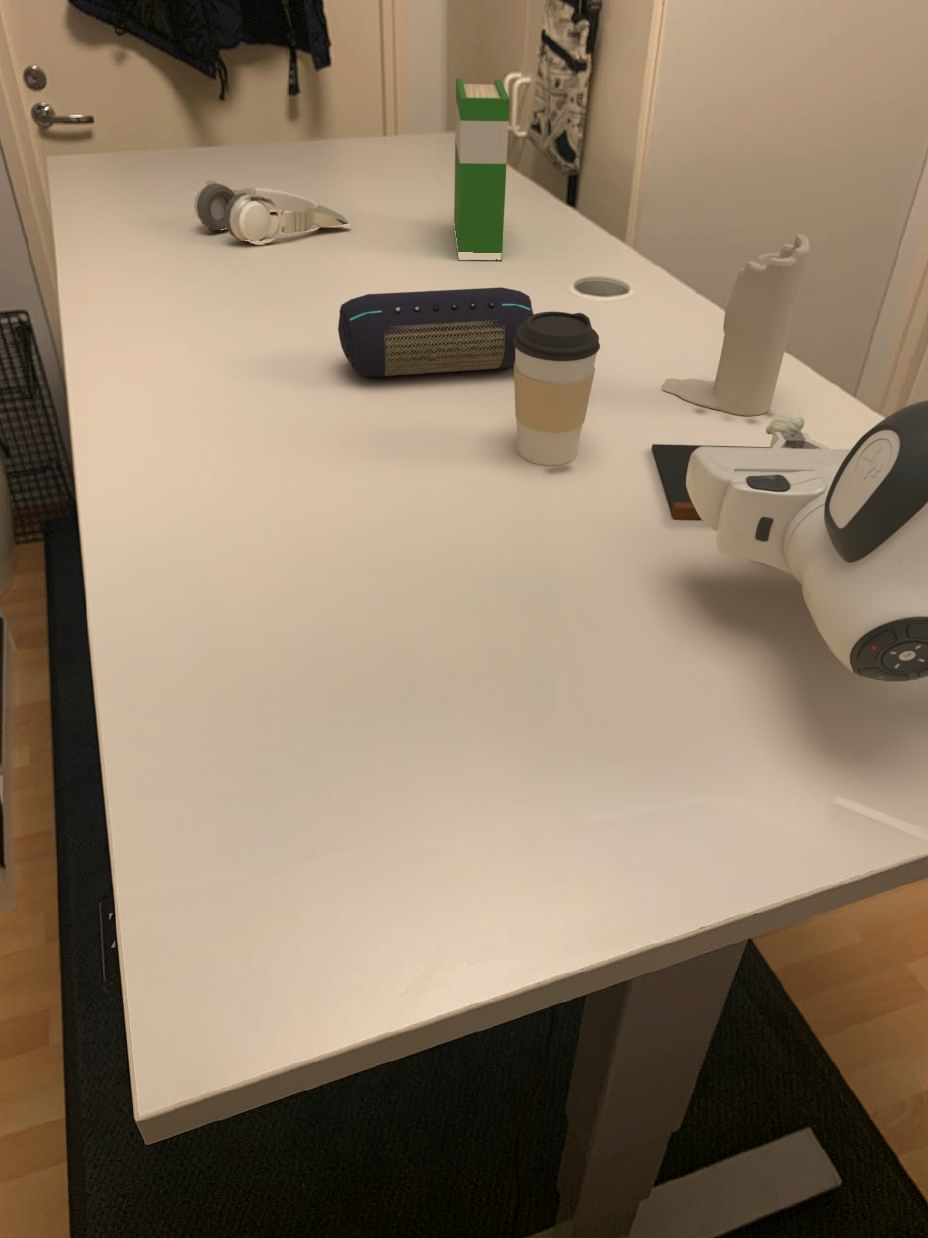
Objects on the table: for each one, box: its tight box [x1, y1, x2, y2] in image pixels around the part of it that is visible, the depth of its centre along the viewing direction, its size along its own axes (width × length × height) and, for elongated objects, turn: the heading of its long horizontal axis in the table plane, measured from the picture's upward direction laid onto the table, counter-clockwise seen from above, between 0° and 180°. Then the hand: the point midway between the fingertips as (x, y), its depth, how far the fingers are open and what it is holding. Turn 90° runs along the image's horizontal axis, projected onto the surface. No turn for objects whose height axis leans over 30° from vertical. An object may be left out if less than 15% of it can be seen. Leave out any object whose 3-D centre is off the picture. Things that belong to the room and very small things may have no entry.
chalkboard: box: [651, 443, 770, 521], centre depth 97 cm, size 16×15×1 cm
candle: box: [661, 233, 811, 417], centre depth 108 cm, size 7×14×20 cm, turn 60°
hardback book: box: [453, 78, 511, 262], centre depth 152 cm, size 18×7×24 cm, turn 3°
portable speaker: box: [337, 287, 535, 378], centre depth 116 cm, size 25×10×10 cm, turn 102°
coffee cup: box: [513, 311, 601, 466], centre depth 98 cm, size 9×9×15 cm
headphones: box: [193, 179, 350, 246], centre depth 163 cm, size 22×8×22 cm
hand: (787, 439), depth 83 cm, fingers closed
